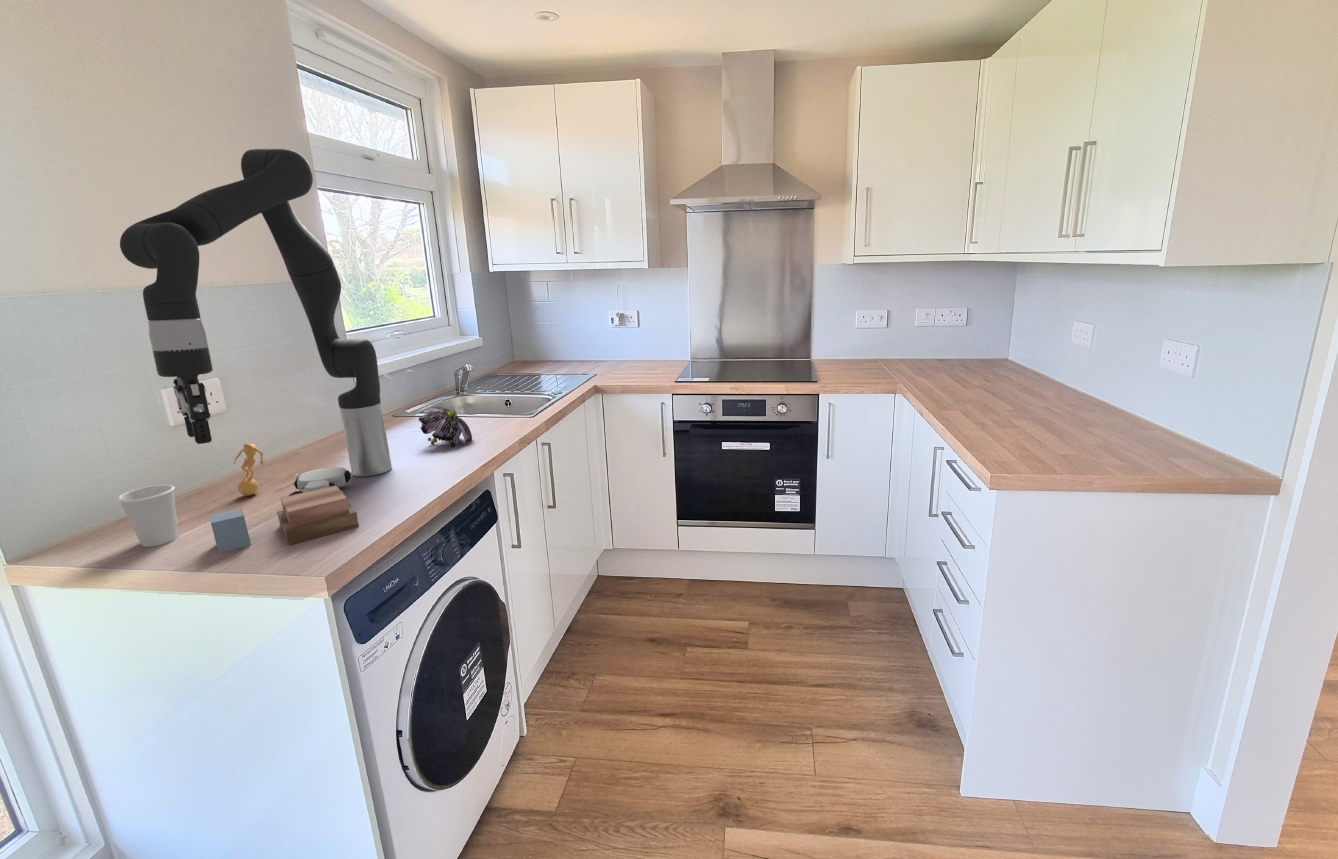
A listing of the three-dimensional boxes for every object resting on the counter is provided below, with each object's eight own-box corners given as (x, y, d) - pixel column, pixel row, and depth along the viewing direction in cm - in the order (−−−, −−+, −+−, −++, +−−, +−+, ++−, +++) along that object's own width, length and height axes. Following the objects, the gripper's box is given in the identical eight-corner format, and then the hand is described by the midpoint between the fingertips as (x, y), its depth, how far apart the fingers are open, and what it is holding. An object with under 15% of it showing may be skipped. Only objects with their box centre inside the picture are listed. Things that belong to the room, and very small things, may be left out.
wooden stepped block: (280, 525, 123) (273, 497, 121) (345, 509, 130) (340, 482, 128) (289, 545, 114) (282, 515, 112) (358, 526, 121) (353, 498, 119)
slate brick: (217, 544, 116) (209, 515, 114) (248, 536, 119) (241, 507, 117) (218, 553, 112) (210, 523, 110) (251, 545, 115) (243, 515, 113)
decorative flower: (449, 418, 165) (412, 398, 171) (436, 458, 167) (400, 437, 173) (487, 420, 178) (451, 401, 184) (475, 457, 180) (440, 437, 186)
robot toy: (347, 506, 135) (357, 480, 148) (343, 487, 133) (353, 462, 147) (284, 515, 131) (300, 487, 145) (279, 495, 130) (296, 469, 143)
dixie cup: (124, 553, 113) (109, 503, 111) (141, 536, 121) (127, 489, 118) (179, 544, 116) (166, 494, 114) (192, 528, 124) (180, 481, 121)
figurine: (228, 497, 141) (215, 447, 137) (251, 488, 146) (240, 439, 143) (256, 499, 138) (244, 448, 135) (279, 489, 144) (268, 441, 141)
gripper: (215, 346, 102) (233, 441, 105) (200, 343, 112) (218, 430, 115) (157, 350, 96) (178, 450, 100) (147, 347, 106) (167, 437, 110)
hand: (199, 439), depth 108 cm, fingers open, 8 cm apart
